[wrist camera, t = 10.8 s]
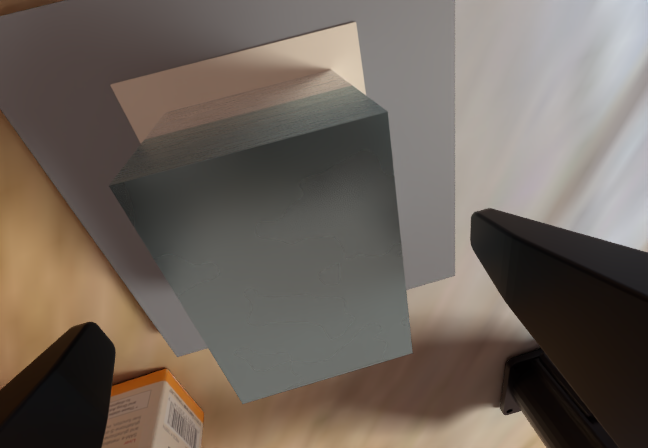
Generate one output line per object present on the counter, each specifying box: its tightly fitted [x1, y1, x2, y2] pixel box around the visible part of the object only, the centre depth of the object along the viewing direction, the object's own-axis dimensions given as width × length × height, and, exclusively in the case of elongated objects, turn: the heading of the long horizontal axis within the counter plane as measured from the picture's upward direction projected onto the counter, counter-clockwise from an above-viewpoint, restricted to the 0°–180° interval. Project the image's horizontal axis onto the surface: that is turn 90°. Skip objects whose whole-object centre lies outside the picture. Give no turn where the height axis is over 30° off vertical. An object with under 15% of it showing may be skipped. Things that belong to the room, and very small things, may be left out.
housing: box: [109, 70, 413, 404], centre depth 10 cm, size 5×7×5 cm
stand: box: [0, 0, 455, 357], centre depth 13 cm, size 13×13×2 cm
